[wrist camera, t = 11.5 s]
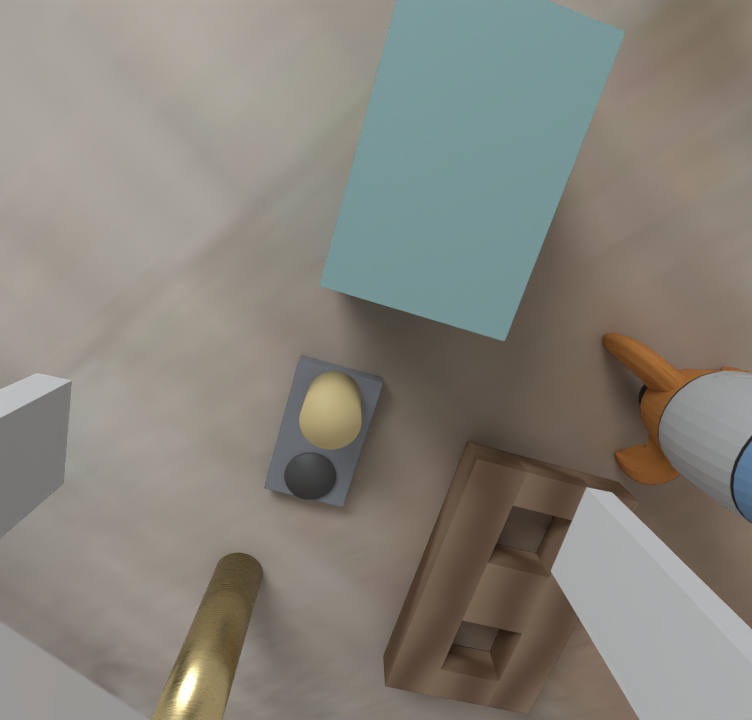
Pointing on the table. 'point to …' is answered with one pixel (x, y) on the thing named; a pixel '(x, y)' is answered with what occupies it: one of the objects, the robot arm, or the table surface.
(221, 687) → the peg
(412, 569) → the table surface
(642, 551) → the robot arm
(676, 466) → the toy rocket
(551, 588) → the board
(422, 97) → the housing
